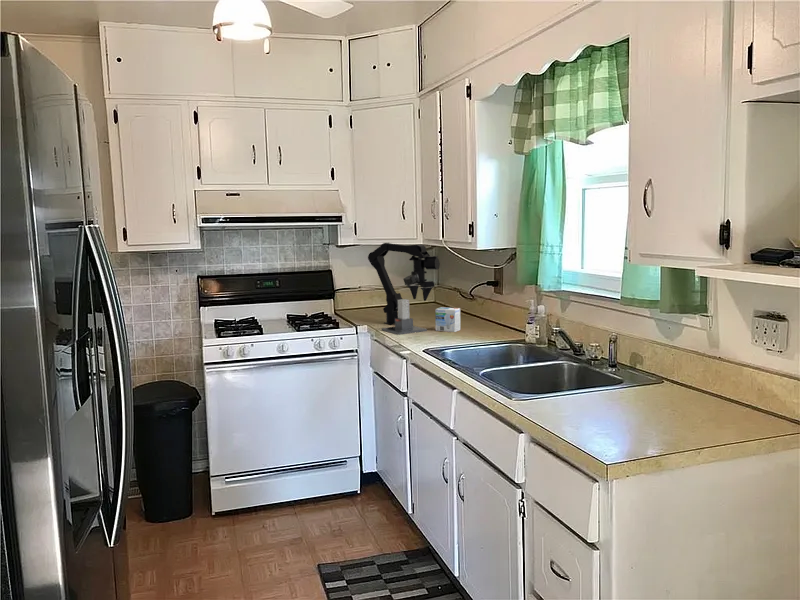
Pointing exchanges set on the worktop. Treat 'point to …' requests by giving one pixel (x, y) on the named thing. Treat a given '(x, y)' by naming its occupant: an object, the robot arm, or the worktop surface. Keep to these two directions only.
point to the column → (403, 309)
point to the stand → (403, 327)
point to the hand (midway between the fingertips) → (419, 300)
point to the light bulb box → (447, 319)
